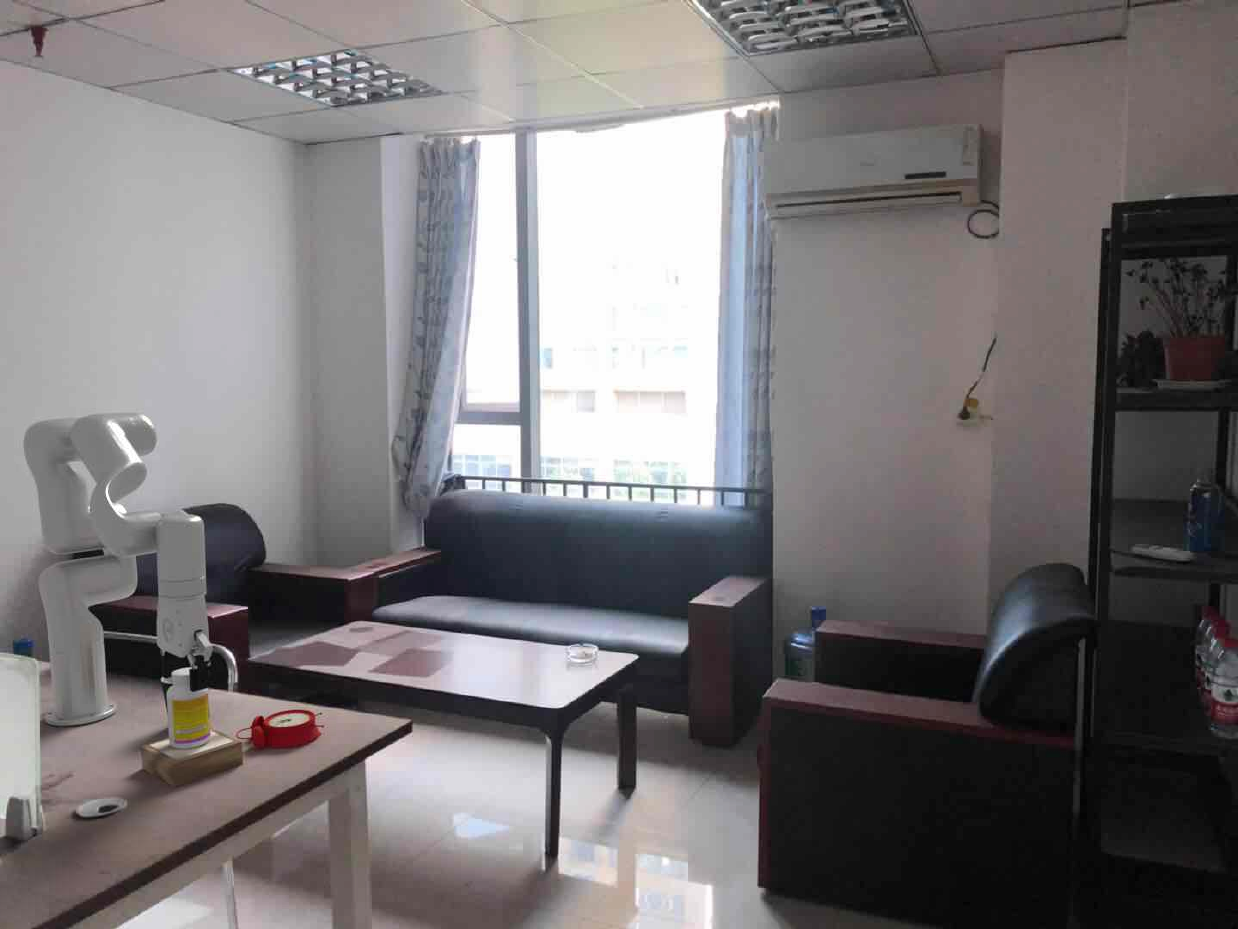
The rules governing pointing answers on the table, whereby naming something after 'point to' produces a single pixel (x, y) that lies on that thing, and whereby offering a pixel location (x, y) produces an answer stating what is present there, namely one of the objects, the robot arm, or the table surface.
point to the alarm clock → (284, 729)
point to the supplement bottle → (187, 713)
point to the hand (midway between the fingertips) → (186, 683)
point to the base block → (191, 758)
